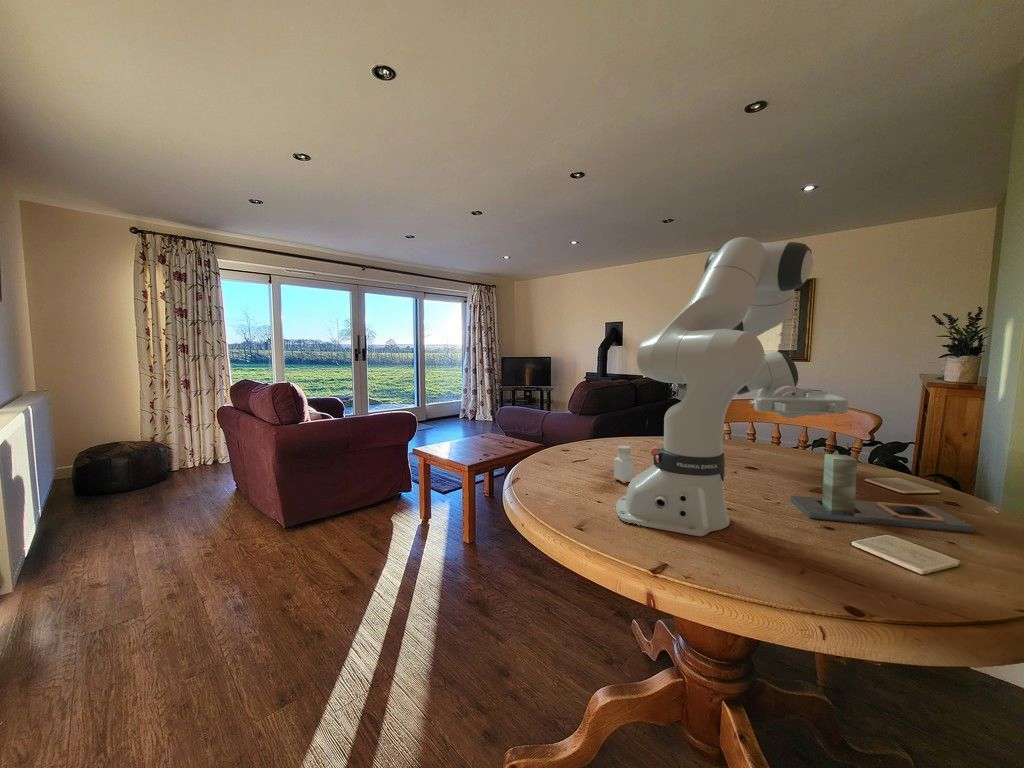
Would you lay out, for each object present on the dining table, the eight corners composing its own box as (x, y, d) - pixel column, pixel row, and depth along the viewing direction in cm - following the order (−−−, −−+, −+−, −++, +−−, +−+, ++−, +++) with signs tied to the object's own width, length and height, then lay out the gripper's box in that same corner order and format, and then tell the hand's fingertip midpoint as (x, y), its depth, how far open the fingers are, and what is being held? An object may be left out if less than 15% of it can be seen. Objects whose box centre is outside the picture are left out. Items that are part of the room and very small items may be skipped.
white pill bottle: (634, 482, 104) (634, 447, 104) (622, 484, 103) (622, 449, 102) (625, 478, 108) (625, 444, 107) (613, 480, 107) (613, 445, 106)
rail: (809, 518, 80) (809, 511, 80) (790, 500, 90) (790, 494, 90) (973, 532, 73) (974, 525, 73) (933, 511, 82) (934, 504, 82)
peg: (831, 515, 82) (833, 458, 81) (822, 507, 86) (824, 454, 85) (854, 516, 81) (857, 460, 80) (844, 509, 84) (846, 455, 83)
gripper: (747, 390, 112) (762, 395, 99) (832, 390, 106) (860, 396, 93) (746, 411, 112) (761, 420, 99) (831, 413, 106) (859, 422, 93)
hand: (810, 408), depth 96 cm, fingers open, 8 cm apart
